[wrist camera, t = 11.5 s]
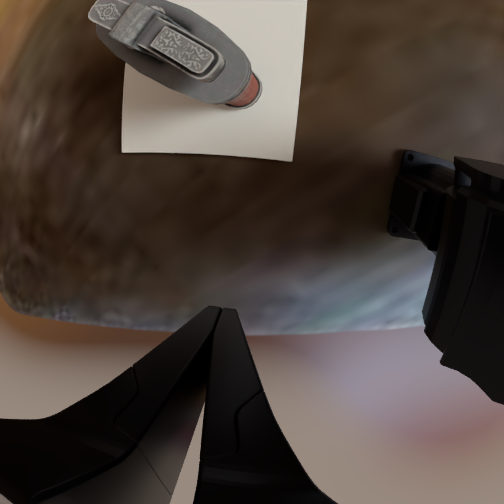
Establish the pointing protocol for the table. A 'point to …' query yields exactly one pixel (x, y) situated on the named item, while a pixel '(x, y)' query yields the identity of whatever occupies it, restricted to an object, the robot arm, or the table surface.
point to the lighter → (177, 50)
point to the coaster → (221, 116)
